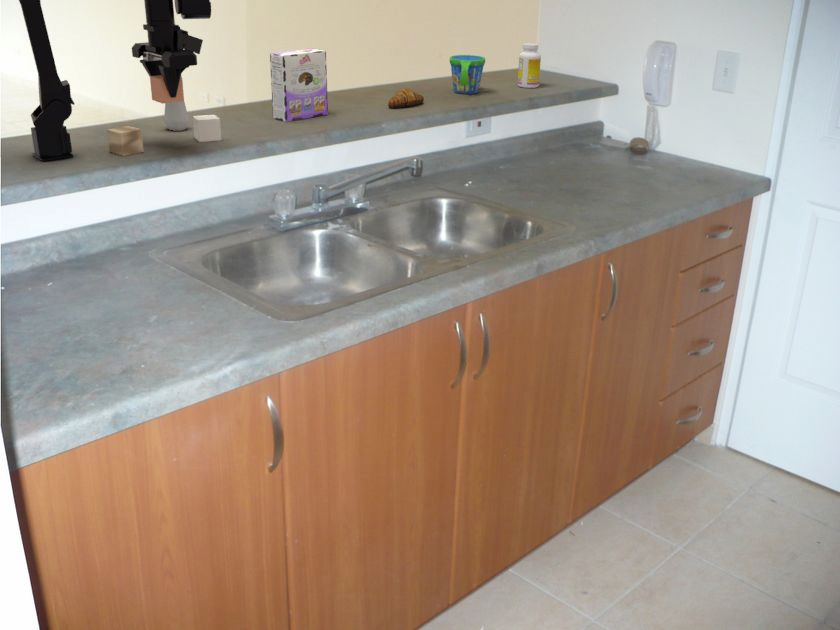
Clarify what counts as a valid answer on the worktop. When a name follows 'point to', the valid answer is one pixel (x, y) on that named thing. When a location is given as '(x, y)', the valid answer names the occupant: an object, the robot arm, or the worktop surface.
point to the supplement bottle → (529, 66)
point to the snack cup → (466, 73)
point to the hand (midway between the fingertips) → (167, 95)
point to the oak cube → (125, 140)
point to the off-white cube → (207, 128)
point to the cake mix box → (299, 84)
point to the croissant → (405, 99)
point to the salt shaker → (176, 116)
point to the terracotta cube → (164, 90)
